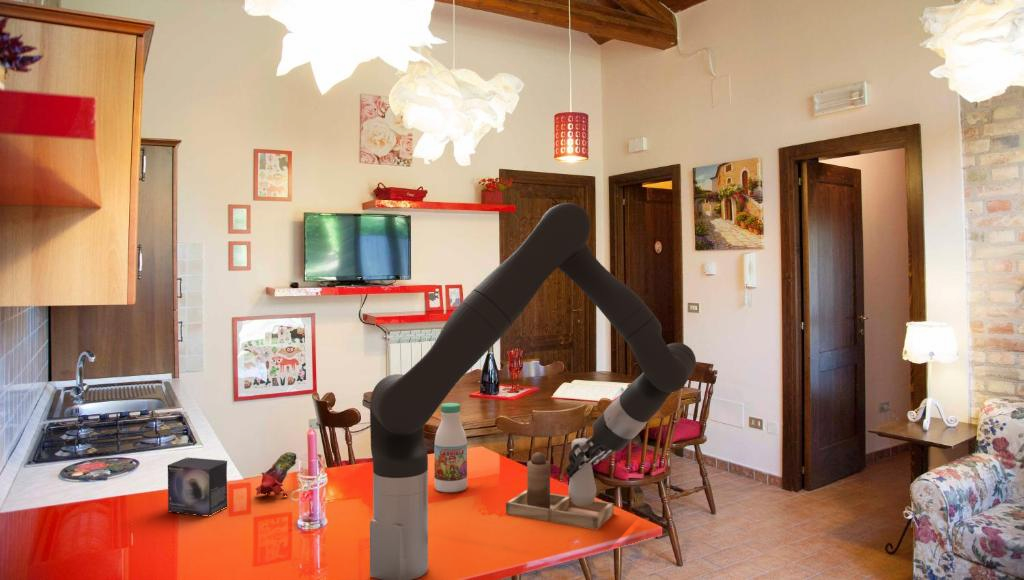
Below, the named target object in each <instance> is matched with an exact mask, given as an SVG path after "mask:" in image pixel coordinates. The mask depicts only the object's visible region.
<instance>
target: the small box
mask: <svg viewBox="0 0 1024 580" xmlns="http://www.w3.org/2000/svg"><path fill="white" fill-rule="evenodd" d="M227 470H228V460H225V459H224V460H222V459H209V458H198V457H188V456H187V457H185V458H181V459H180V460H176V461H175V462H172V463H169V464H167V504H168V505H167V512H168V511H171V512H179V513H188V514H196V515H208V516H209V515H212V514H213V513H215V512H217V511H219V510H221V509H223V508H225V507H227V508H228V473H227V472H228V471H227ZM196 515H195V516H196Z"/></svg>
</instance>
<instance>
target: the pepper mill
mask: <svg viewBox="0 0 1024 580" xmlns="http://www.w3.org/2000/svg"><path fill="white" fill-rule="evenodd" d="M526 465H527V466H526V469H527V470H526V471H527V472H526V474H527V477H526V479H527V480H526V481H527V484H526V485H527V486H526V490H527V505H530V506H536V507H542V508H548V509H550V493H551V462H550V461H549V460H547V457H546V455H545V453H543V452H540V451H536V452H534V453H533V454H532V455H531V458H530V460H528V461H527V462H526Z"/></svg>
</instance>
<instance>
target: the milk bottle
mask: <svg viewBox="0 0 1024 580" xmlns="http://www.w3.org/2000/svg"><path fill="white" fill-rule="evenodd" d="M440 414H441V419H440V420H441V421H440V424H439V426H438V427H437V430H436V434H435V435H434V436H435V438H434V449H433V450H434V453H433V454H434V458H433V459H434V460H433V462H434V463H433V465H434V468H433V469H434V471H433V472H434V473H433V474H434V475H433V476H434V477H433V478H434V482H433V483H434V489H435V490H436V491H438V492H441V493H458V492H462V491H464V490H466V488H467V486H468V442H467V439H468V438H467V434H466V431H465V429H464V427H463V424H462V421H461V418H460V414H461V404H460V403H456V402H446V403H441V404H440Z"/></svg>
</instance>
